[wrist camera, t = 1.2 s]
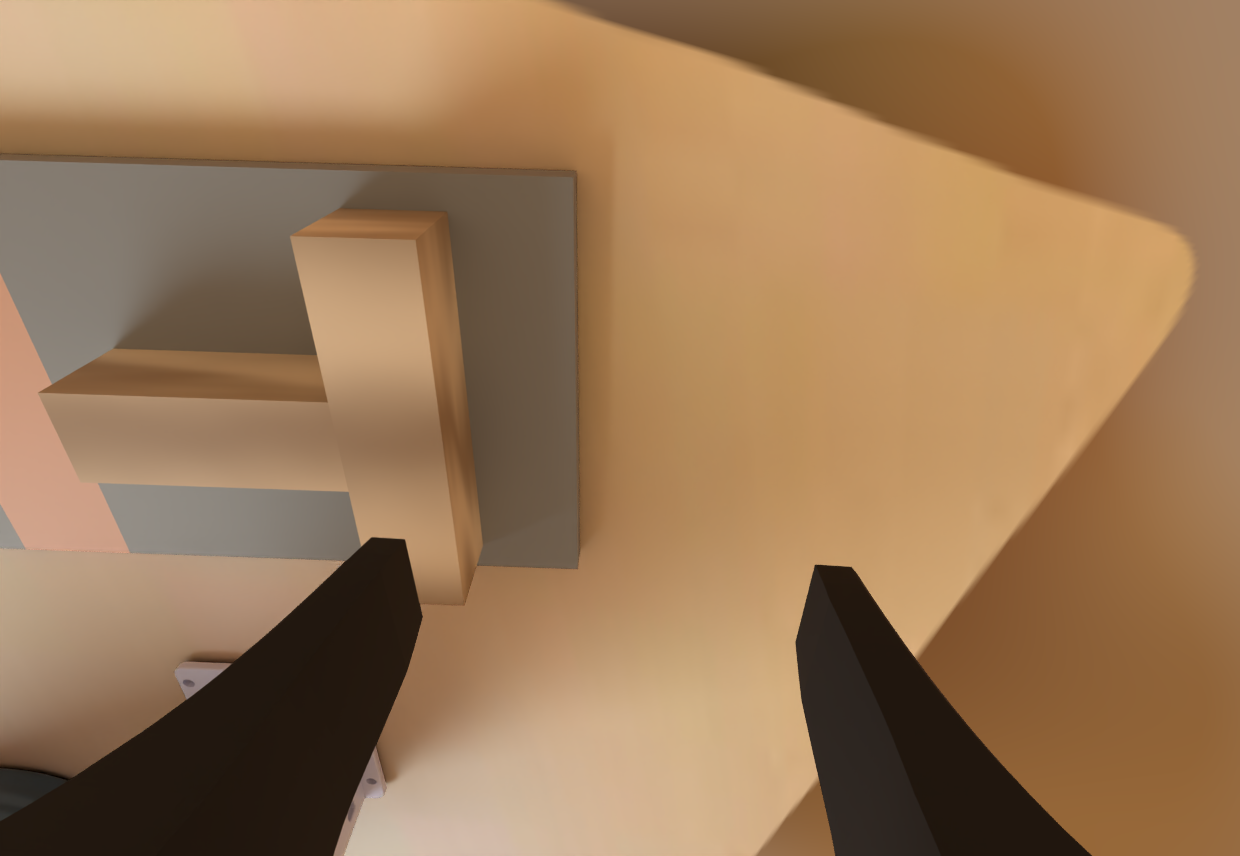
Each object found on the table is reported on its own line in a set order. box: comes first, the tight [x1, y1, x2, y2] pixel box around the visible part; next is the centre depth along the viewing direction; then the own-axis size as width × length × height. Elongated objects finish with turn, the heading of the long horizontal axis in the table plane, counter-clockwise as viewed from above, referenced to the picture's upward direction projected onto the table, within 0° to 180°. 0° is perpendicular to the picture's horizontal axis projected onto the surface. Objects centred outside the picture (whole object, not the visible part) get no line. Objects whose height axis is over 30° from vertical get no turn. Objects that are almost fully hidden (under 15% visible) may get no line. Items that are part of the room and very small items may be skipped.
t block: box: [38, 208, 483, 605], centre depth 20 cm, size 12×11×3 cm
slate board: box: [0, 154, 580, 569], centre depth 22 cm, size 14×32×1 cm, turn 89°
